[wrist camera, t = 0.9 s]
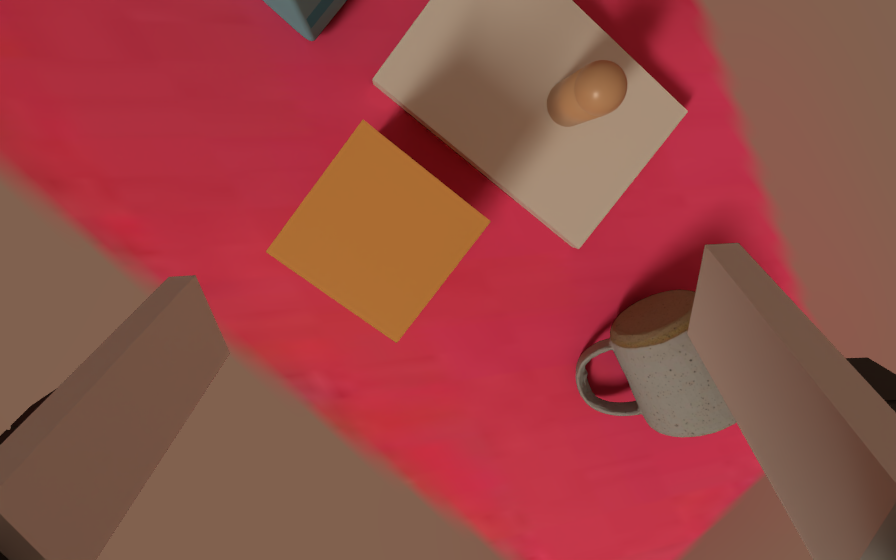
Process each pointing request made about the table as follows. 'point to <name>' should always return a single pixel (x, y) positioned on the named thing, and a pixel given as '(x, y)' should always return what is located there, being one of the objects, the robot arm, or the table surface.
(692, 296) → the ceramic mug
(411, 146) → the table surface
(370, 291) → the tall orange block
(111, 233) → the table surface
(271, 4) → the data package
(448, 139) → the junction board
